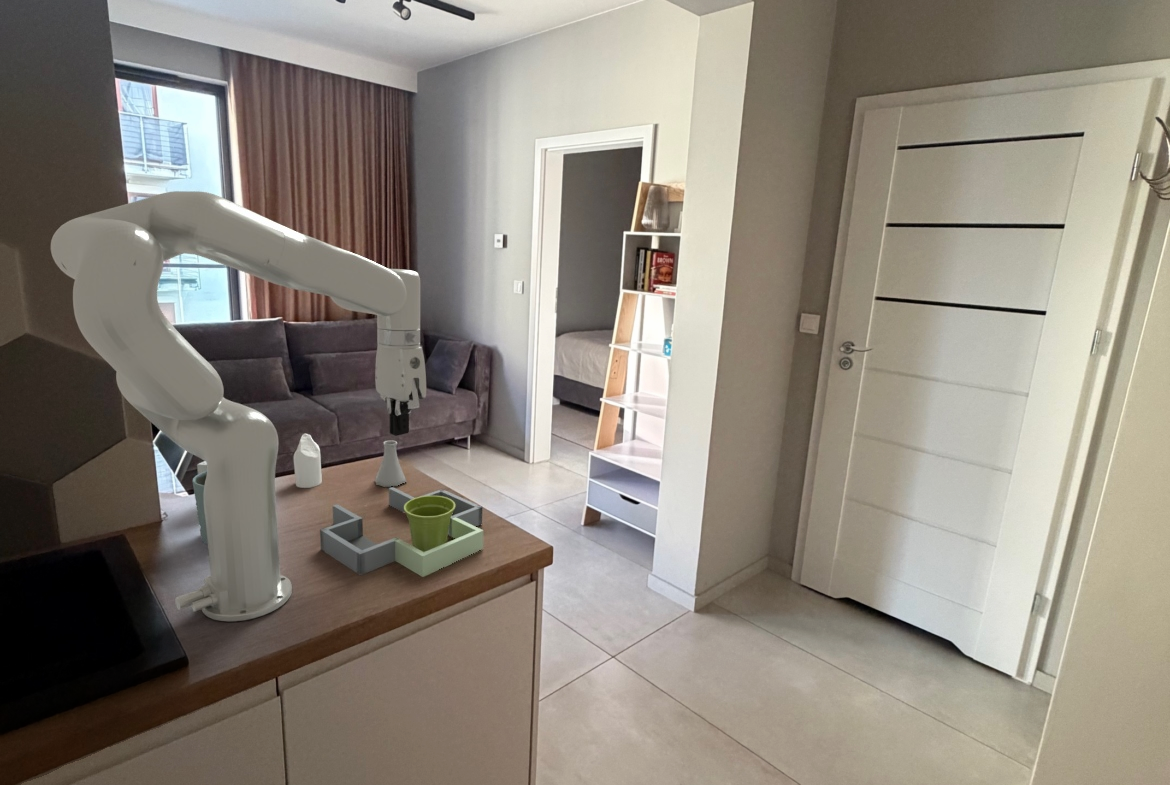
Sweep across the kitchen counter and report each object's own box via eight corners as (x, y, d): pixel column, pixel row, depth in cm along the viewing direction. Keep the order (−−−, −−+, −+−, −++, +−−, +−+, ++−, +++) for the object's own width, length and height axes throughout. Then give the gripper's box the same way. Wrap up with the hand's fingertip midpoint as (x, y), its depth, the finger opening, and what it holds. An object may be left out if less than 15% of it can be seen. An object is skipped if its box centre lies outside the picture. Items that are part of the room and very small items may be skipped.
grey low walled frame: (387, 593, 102) (387, 571, 101) (299, 535, 119) (298, 516, 118) (509, 537, 123) (509, 519, 122) (419, 495, 140) (419, 478, 139)
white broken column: (308, 439, 137) (286, 436, 138) (310, 489, 140) (289, 486, 141) (325, 432, 143) (304, 429, 144) (327, 480, 146) (306, 477, 147)
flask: (412, 483, 147) (411, 444, 144) (383, 490, 142) (382, 449, 140) (398, 474, 152) (397, 435, 150) (369, 480, 147) (368, 440, 145)
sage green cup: (192, 532, 117) (187, 473, 115) (250, 519, 124) (246, 463, 121) (205, 553, 110) (199, 491, 107) (266, 538, 117) (262, 479, 114)
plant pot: (465, 545, 119) (465, 503, 117) (430, 565, 111) (430, 520, 109) (429, 531, 123) (429, 491, 121) (393, 550, 115) (392, 507, 113)
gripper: (441, 342, 111) (440, 439, 115) (392, 331, 120) (393, 421, 124) (406, 345, 105) (406, 447, 109) (357, 333, 114) (359, 428, 118)
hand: (399, 433), depth 117 cm, fingers closed
